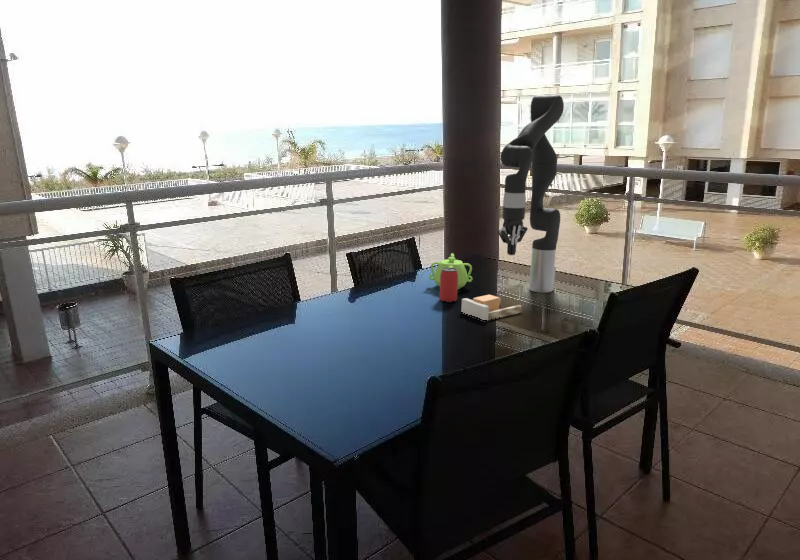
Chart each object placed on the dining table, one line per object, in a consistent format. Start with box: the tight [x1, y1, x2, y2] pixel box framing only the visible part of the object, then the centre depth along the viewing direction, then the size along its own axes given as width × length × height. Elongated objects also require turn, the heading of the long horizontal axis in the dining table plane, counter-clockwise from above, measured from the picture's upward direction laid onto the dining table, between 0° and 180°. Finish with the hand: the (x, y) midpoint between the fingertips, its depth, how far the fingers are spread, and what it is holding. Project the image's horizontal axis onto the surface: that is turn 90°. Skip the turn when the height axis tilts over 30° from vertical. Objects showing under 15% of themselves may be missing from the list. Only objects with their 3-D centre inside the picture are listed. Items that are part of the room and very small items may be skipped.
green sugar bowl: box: [429, 252, 473, 289], centre depth 235 cm, size 16×14×13 cm
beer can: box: [439, 268, 458, 303], centre depth 217 cm, size 7×7×12 cm
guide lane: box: [487, 298, 523, 321], centre depth 204 cm, size 16×11×2 cm
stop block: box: [460, 297, 489, 321], centre depth 199 cm, size 2×11×5 cm, turn 35°
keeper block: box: [472, 294, 501, 312], centre depth 202 cm, size 8×5×6 cm, turn 128°
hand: (511, 254), depth 204 cm, fingers closed
